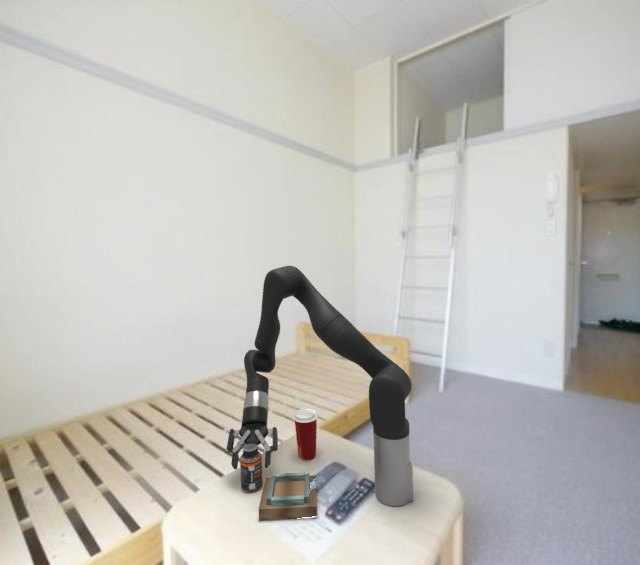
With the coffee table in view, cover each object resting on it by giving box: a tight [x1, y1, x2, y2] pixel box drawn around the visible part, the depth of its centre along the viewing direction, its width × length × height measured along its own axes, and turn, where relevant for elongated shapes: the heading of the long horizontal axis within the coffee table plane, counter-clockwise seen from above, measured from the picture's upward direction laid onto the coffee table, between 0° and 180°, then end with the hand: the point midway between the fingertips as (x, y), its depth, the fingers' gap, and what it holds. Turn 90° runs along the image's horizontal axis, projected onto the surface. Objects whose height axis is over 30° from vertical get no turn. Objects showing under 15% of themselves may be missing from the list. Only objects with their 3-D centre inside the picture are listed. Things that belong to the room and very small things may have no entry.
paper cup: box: [293, 408, 319, 461], centre depth 109 cm, size 8×8×14 cm
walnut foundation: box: [258, 471, 318, 522], centre depth 89 cm, size 14×12×4 cm
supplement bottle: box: [239, 444, 264, 493], centre depth 95 cm, size 6×6×11 cm
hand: (250, 468), depth 94 cm, fingers open, 8 cm apart
